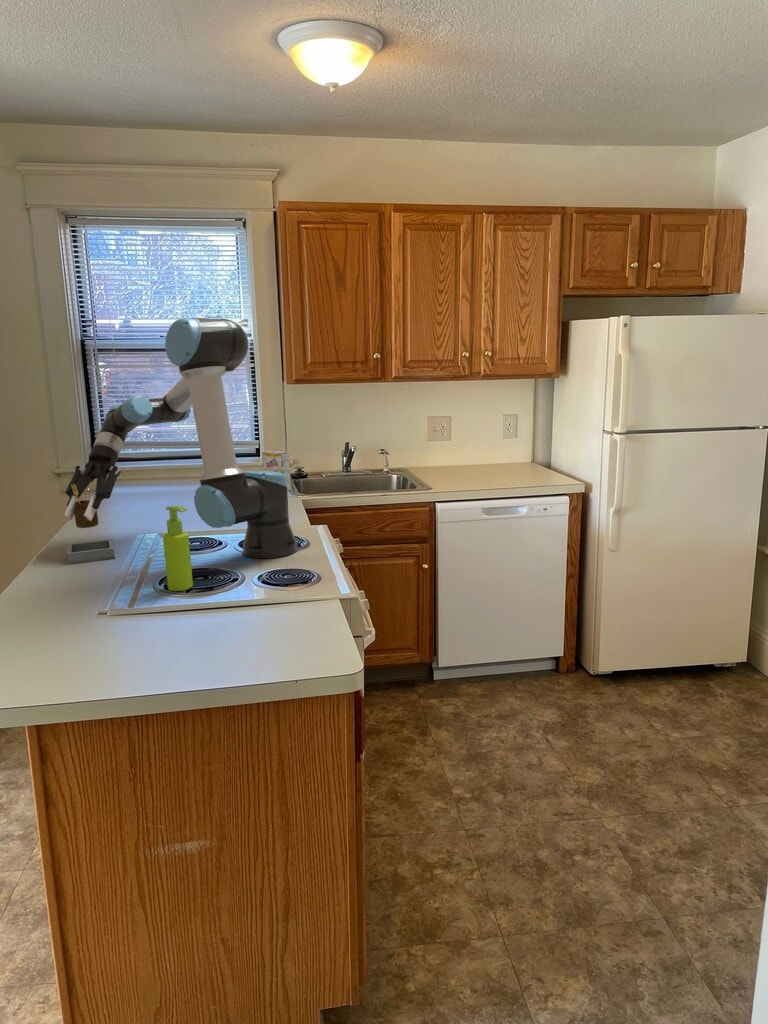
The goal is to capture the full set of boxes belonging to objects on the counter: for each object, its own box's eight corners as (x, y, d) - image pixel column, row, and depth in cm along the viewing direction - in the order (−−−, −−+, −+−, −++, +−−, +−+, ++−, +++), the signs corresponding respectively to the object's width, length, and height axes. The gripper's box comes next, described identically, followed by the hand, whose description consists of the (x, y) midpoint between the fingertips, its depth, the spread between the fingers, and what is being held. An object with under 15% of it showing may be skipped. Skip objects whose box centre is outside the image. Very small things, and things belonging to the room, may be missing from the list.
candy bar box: (263, 490, 298) (261, 452, 295) (271, 488, 302) (269, 450, 299) (284, 492, 292) (281, 453, 289) (292, 490, 296) (289, 451, 293)
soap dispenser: (182, 593, 167) (174, 510, 162) (162, 589, 170) (154, 507, 166) (201, 586, 171) (193, 505, 167) (181, 582, 175) (173, 503, 171)
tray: (114, 558, 199) (113, 548, 199) (68, 564, 195) (67, 553, 194) (113, 548, 210) (112, 539, 209) (69, 554, 206) (68, 544, 205)
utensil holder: (88, 528, 197) (82, 486, 194) (70, 527, 199) (64, 486, 197) (103, 523, 202) (98, 482, 200) (86, 523, 205) (80, 482, 202)
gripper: (139, 458, 210) (114, 525, 198) (84, 458, 214) (56, 524, 202) (128, 443, 204) (100, 511, 191) (71, 443, 208) (41, 509, 195)
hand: (77, 517), depth 197 cm, fingers closed on utensil holder, 5 cm apart
